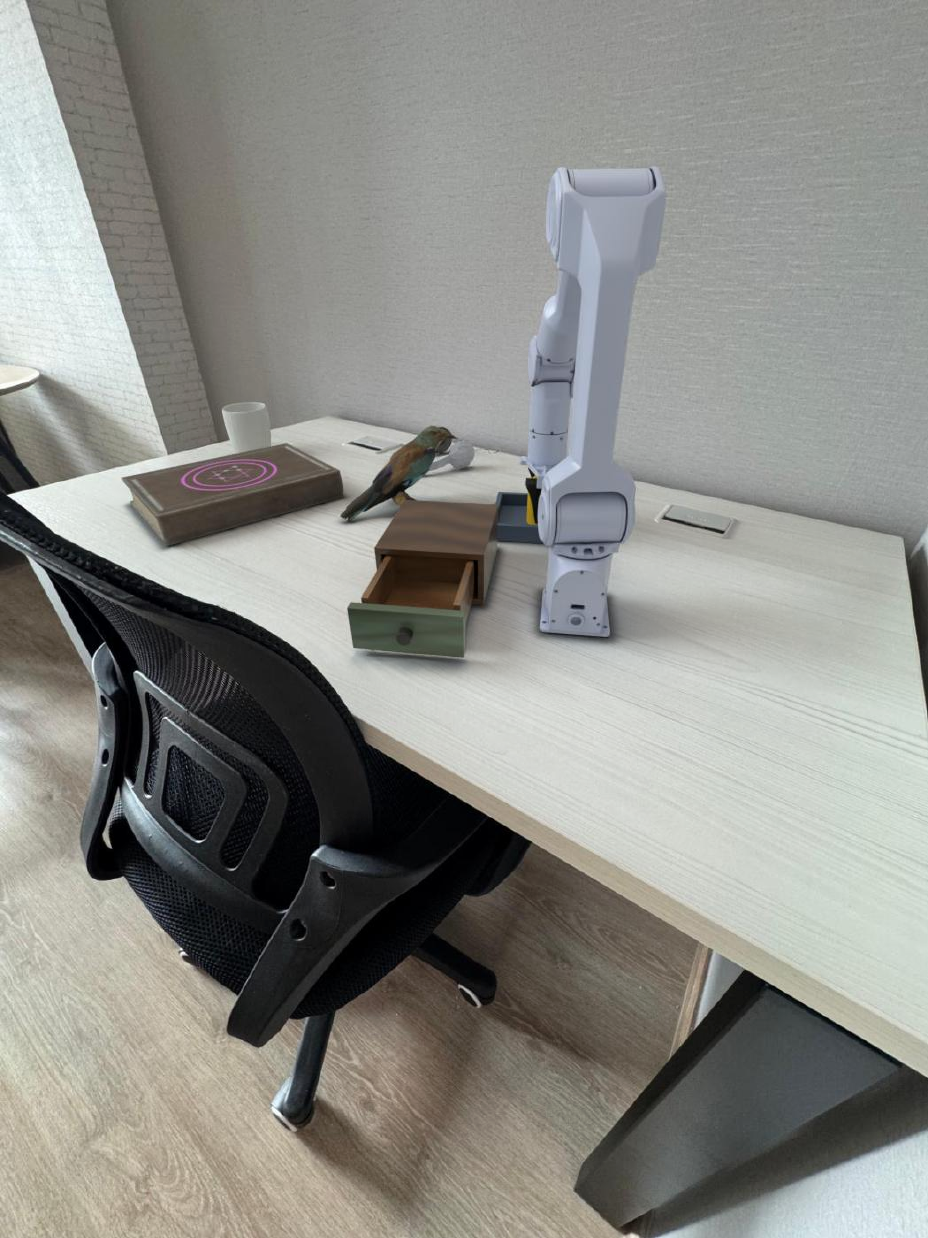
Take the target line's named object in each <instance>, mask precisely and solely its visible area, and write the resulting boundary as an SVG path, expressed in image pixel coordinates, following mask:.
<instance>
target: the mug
mask: <svg viewBox="0 0 928 1238" xmlns="http://www.w3.org/2000/svg"><path fill="white" fill-rule="evenodd" d="M221 412H222V414H221V415H222V418H223V421H224V426H225V429H226V433H227V436H228V439H229V441H230V443H231V445H232V448H233V449H234V452H235V454H237V453H241V452H246V451H251V450H256V449H260V448H265V447H270V446H272V431H271V430H272V429H271V423H270V417H269V412H268V409H267V406H266V404H265V403H262V402H256V401H255V402H254V401H251V402H238V403H232V404H231V403H230V404H228V405H225V406H223V407H222V408H221Z"/></svg>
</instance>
